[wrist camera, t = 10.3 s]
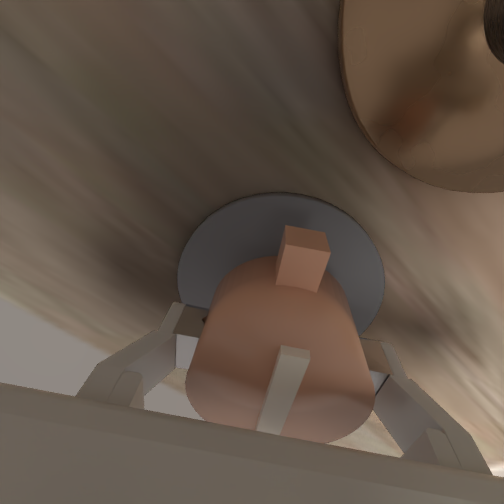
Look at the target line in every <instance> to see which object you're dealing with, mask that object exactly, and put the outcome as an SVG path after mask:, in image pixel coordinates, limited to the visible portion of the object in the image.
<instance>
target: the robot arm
mask: <svg viewBox="0 0 504 504" xmlns="http://www.w3.org/2000/svg"><path fill="white" fill-rule="evenodd" d="M208 312H209V309H207V308H202V307H198V306H193V305H189V304H182V303H178V302H173V303H172V305H171V307H170V308H169V310H168V312H167V314H166V316H165V318H164V320H163V322H162V324H161V326H160V328H159V330H158V331H155V330H154V331H152V332H150V333H149V334H147V335H145V336H144V337H142V338H140V339H139V340H137V341H135V342H134V343H132V344H130V345H129V346H127V347H125V348H123V349H122V350H120V351H118V352H117V353H115V354H113V355H112V356H110V357H108V358H107V359H105V360H104V361H102V362H100V363H98V364H97V365H96V367H95V368H94V370H93V371H92V373H91V374H90V376H89V377H88V379H87V380H86V382H85V383H84V385H83V386H82V387H81V389H80V390H79V392H78V393H77V395H76V396H75V397H74V396H70V395H64V394H59V393H54V392H49V391H43V390H38V389H33V388H27V387H22V386H17V385H12V384H6V383H1V382H0V504H504V477H498V476H493V475H492V473H491V471H490V469H489V467H488V465H487V464H486V462H485V460H484V458H483V456H482V454H481V453H480V451H479V449H478V447H477V445H476V444H475V442H474V440H473V438H472V436H471V435H470V434H469V433H468V432H467V431H466V430H465V429H464V428H463V427H462V426H461V425H460V424H459V423H457V422H456V421H455V420H454V419H453V418H452V417H451V416H450V415H449V414H448V413H447V412H446V411H445V410H444V409H443V408H442V407H440V406H439V405H438V404H437V403H436V402H435V401H434V400H433V399H432V398H431V397H430V396H429V395H428V394H427V393H426V392H425V391H423V390H422V389H421V388H420V387H419V386H418V385H417V384H416V383H415V382H414V381H413V380H412V379H408V378H407V376H406V374H405V371H404V369H403V367H402V365H401V362H400V360H399V358H398V356H397V353H396V351H395V349H394V347H393V345H392V344H391V343H389V342H383V341H376V340H371V339H366V338H360V337H359V339H360V342H361V345H362V349H363V352H364V355H365V358H366V362H367V365H368V368H369V371H370V375H371V378H372V381H373V384H374V389H375V404H374V407H373V410H374V412H375V413H376V415H377V416H378V417H379V419H380V420H381V422H382V423H383V424H384V426H385V427H386V429H387V430H388V431H389V433H390V434H391V436H392V437H393V438H394V440H395V441H396V443H397V444H398V445H399V447H400V448H401V450H402V451H403V452H404V454H403V455H402V456H401V457H400V458H398V457H393V456H387V455H382V454H377V453H371V452H366V451H361V450H355V449H350V448H345V447H339V446H334V445H329V444H323V443H318V442H313V441H307V440H302V439H297V438H292V437H286V436H281V435H276V434H271V433H265V432H260V431H255V430H249V429H244V428H239V427H234V426H228V425H223V424H218V423H212V422H207V421H202V420H196V419H191V418H186V417H180V416H175V415H170V414H165V413H160V412H154V411H148V410H144V395H146V394H147V393H148V392H149V391H150V390H151V389H152V388H154V387H155V386H156V385H157V384H158V383H159V382H160V381H161V380H162V379H164V378H165V377H166V376H167V375H168V374H169V373H170V372H171V371H173V370H174V369H175V367H177V368H184V369H189V366H190V363H191V360H192V358H193V355H194V352H195V349H196V346H197V343H198V341H199V339H200V336H201V333H202V330H203V327H204V323H205V320H206V318H207V315H208Z"/></svg>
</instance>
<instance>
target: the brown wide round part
mask: <svg viewBox="0 0 504 504" xmlns="http://www.w3.org/2000/svg"><path fill="white" fill-rule="evenodd" d="M338 56H339V64H340V72H341V79H342V83H343V87H344V91H345V95H346V99H347V101H348V104H349V106H350V109H351V111H352V114H353V116H354V119H355V120H356V122H357V124H358V126H359V127H360V129H361V131H362V132H363V134H364V136H365V137H366V138H367V139H368V141H369V142H370V143H371V144H372V145H373V147H374V148H375V149H376V150H377V151H378V152H379V153H380V154H381V155H383V156H384V157H385V158H386V159H387V160H388V161H389V162H391V163H392V164H394V165H395V166H397V167H399V168H400V169H402V170H403V171H405V172H406V173H408V174H410V175H411V176H413V177H414V178H417V179H419V180H421V181H423V182H426V183H428V184H430V185H433V186H437V187H441V188H444V189H448V190H453V191H461V192H469V193H494V192H503V191H504V0H340V8H339V19H338Z"/></svg>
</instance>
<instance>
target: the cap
mask: <svg viewBox="0 0 504 504" xmlns="http://www.w3.org/2000/svg"><path fill="white" fill-rule="evenodd" d="M330 254H331V251H330V248H329V244H328V241H327V238H326V234H325V232H320V231H315V230H309V229H304V228H299V227H293V226H288V225H285V228H284V233H283V237H282V241H281V245H280V249H279V253H278V256H268V257H261V258H257V259H253V260H250V261H247V262H245V263H243V264H241V265H239V266H237V267H236V268H234V269H233V270H231V271H230V272H229V273H228V274H227V275H225V276H224V278H223V279H222V280H221V281H220V283H219V284H218V286H217V288H216V290H215V293H214V296H213V299H212V302H211V305H210V307H209V312H208V315H207V318H206V320H205V323H204V327H203V330H202V333H201V336H200V339H199V341H198V343H197V346H196V349H195V352H194V355H193V358H192V360H191V363H190V366H189V369H188V372H187V375H186V381H185V385H186V393H187V397H188V399H189V401H190V403H191V405H192V406H193V408H194V409H195V411H196V412H197V413H198V414H199V415H200V416H201V417H202V418H203V419H204V420H205V421H207V422H212V423H218V424H223V425H228V426H234V427H239V428H244V429H249V430H255V431H260V432H265V433H271V434H276V435H281V436H286V437H292V438H297V439H302V440H307V441H313V442H318V443H323V444H326V443H329V442H333V441H335V440H338V439H340V438H343V437H345V436H347V435H349V434H350V433H352V432H353V431H355V430H356V429H358V428H359V427H360V426H361V425H362V424H363V423H364V422H365V421H366V420H367V419H368V417H369V416H370V414H371V412H372V410H373V407H374V404H375V389H374V384H373V381H372V378H371V375H370V371H369V368H368V365H367V362H366V358H365V355H364V352H363V349H362V345H361V342H360V339H359V335H358V332H357V329H356V326H355V322H354V319H353V316H352V313H351V309H350V306H349V303H348V300H347V297H346V294H345V291H344V290H343V288H342V286H341V285H340V283H339V282H338V281H337V280H336V278H334V277H333V276H332V275H331V274H330V273H329V272H328V271H326V270H325V268H326V265H327V262H328V260H329V257H330Z"/></svg>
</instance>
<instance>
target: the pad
mask: <svg viewBox="0 0 504 504" xmlns="http://www.w3.org/2000/svg"><path fill="white" fill-rule="evenodd" d="M285 225H288V226H293V227H299V228H304V229H309V230H315V231H320V232H325V234H326V238H327V241H328V244H329V248H330V251H331V254H330V257H329V260H328V262H327V265H326V268H325V270H326V271H328V272H329V273H330V274H331V275H332V276H333V277H334V278H336V280H337V281H338V282H339V283H340V285H341V286H342V288H343V290H344V291H345V294H346V297H347V300H348V303H349V306H350V309H351V313H352V316H353V319H354V322H355V326H356V329H357V332H358V335H359V336H360V335H361V334H362V333H363V332H364V331H365V330H366V329H367V327H368V326H369V325H370V324H371V322H372V321H373V319H374V318H375V316H376V315H377V312H378V310H379V308H380V306H381V303H382V299H383V295H384V288H385V276H384V269H383V265H382V261H381V258H380V256H379V254H378V251H377V249H376V247H375V245H374V244H373V242H372V240H371V239H370V238H369V236H368V235H367V233H366V232H365V230H364V229H363V228H362V227H361V226H360V225H359V224H358V223H357V222H356V221H355V220H354V219H353V218H352V217H350V216H349V215H348V214H347V213H345V212H344V211H342V210H341V209H339V208H337V207H335V206H334V205H332V204H330V203H327V202H325V201H322V200H320V199H317V198H314V197H310V196H306V195H302V194H294V193H264V194H256V195H252V196H249V197H245V198H241V199H239V200H236V201H234V202H231V203H229V204H227V205H225V206H223V207H222V208H220V209H218V210H217V211H215V212H214V213H213V214H211V215H210V216H209V217H208V218H206V219H205V220H204V221H203V222H202V223H201V224H200V226H199V227H198V228H197V229H196V230H195V232H194V233H193V235H192V236H191V238H190V239H189V241H188V242H187V244H186V246H185V248H184V250H183V252H182V255H181V258H180V262H179V265H178V274H177V282H178V290H179V295H180V299H181V301H182V304H189V305H193V306H198V307H202V308H207V309H209V307H210V305H211V302H212V299H213V296H214V293H215V290H216V288H217V286H218V284H219V283H220V281H221V280H222V279H223V278H224V276H225V275H227V274H228V273H229V272H230V271H231V270H233V269H234V268H236V267H237V266H239V265H241V264H243V263H245V262H247V261H250V260H253V259H257V258H261V257H268V256H278V253H279V249H280V245H281V241H282V237H283V233H284V228H285Z"/></svg>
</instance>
